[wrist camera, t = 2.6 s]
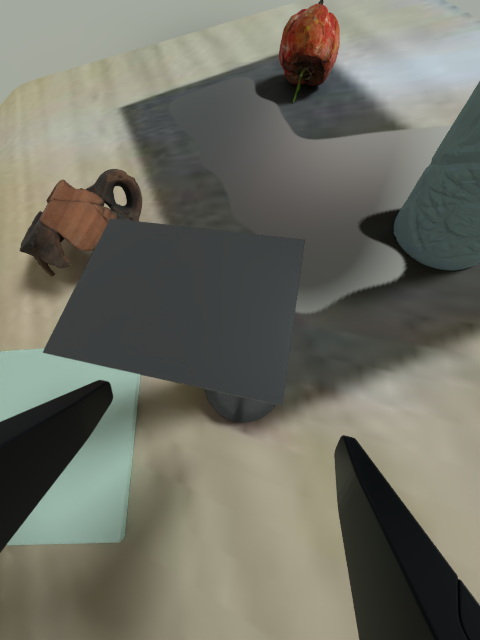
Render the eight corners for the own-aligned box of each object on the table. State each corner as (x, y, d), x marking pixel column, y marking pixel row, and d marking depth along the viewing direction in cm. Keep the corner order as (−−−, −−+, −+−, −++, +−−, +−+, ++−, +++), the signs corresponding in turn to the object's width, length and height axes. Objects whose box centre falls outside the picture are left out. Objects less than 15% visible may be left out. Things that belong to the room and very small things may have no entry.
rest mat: (124, 537, 16) (119, 542, 15) (-60, 541, 16) (-71, 546, 16) (143, 342, 20) (140, 340, 20) (1, 353, 21) (-6, 352, 21)
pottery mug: (118, 312, 22) (8, 269, 16) (100, 284, 29) (15, 247, 23) (181, 210, 22) (94, 128, 16) (148, 205, 29) (77, 145, 22)
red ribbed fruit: (321, 121, 32) (358, 29, 29) (310, 84, 26) (356, -40, 22) (277, 114, 35) (306, 29, 31) (257, 78, 29) (291, -33, 25)
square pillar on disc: (274, 428, 17) (383, 620, 2) (200, 411, 18) (-95, 459, 3) (285, 352, 19) (382, 171, 4) (218, 340, 20) (91, 153, 5)
